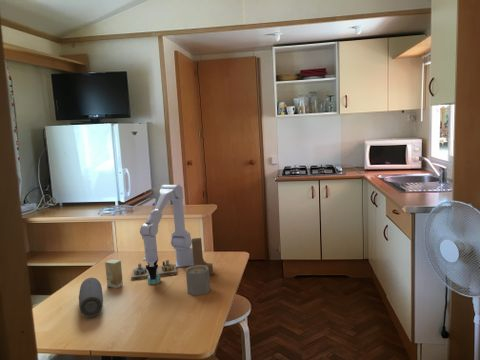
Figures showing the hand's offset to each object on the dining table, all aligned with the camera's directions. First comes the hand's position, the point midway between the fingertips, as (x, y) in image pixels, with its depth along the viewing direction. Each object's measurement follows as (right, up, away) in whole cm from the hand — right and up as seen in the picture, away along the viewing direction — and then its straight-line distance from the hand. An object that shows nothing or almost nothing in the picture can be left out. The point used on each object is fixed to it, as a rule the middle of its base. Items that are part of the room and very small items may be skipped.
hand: (153, 276), depth 190 cm
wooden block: (+23, -1, +6) cm, 24 cm away
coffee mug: (+23, -3, -11) cm, 26 cm away
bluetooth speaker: (-20, -8, -24) cm, 32 cm away
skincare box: (-18, -5, -1) cm, 18 cm away
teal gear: (0, -3, 0) cm, 3 cm away
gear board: (-2, -1, +12) cm, 12 cm away
